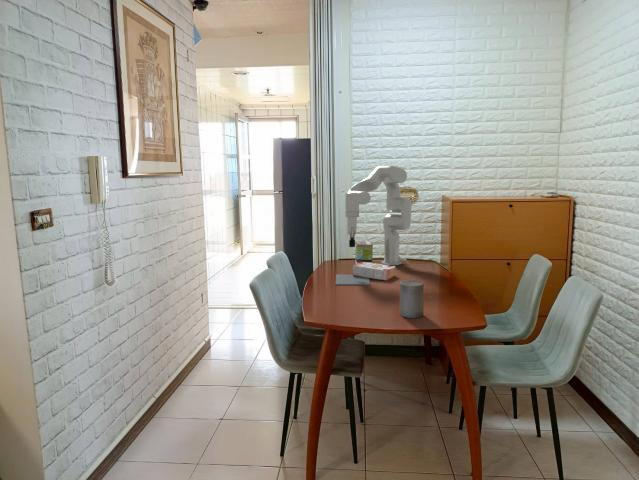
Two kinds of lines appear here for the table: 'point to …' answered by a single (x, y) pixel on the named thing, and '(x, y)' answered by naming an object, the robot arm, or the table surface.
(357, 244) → the tea box
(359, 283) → the mat
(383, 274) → the cracker box
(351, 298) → the table surface
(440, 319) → the table surface
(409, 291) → the pillar candle
